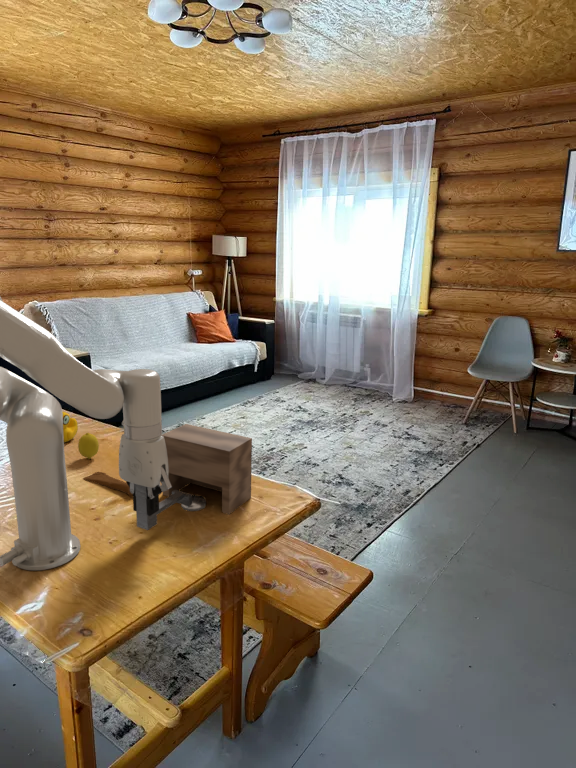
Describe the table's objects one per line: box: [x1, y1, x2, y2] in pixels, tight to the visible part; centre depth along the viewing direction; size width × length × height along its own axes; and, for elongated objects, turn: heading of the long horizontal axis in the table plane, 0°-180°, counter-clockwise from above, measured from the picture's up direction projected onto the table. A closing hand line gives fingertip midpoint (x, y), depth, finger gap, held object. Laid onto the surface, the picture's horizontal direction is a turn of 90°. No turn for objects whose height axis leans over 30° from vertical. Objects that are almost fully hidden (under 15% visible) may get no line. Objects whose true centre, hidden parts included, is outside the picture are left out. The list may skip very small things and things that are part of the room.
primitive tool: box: [82, 471, 133, 498], centre depth 139 cm, size 19×6×4 cm, turn 57°
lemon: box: [77, 432, 100, 460], centre depth 154 cm, size 6×6×8 cm
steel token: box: [180, 494, 207, 512], centre depth 129 cm, size 6×6×2 cm
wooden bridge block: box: [162, 423, 253, 515], centre depth 132 cm, size 10×20×16 cm, turn 63°
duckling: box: [62, 411, 79, 443], centre depth 166 cm, size 11×5×10 cm, turn 164°
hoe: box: [135, 484, 193, 531], centre depth 118 cm, size 14×5×12 cm, turn 153°
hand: (146, 510), depth 114 cm, fingers closed on hoe, 3 cm apart
